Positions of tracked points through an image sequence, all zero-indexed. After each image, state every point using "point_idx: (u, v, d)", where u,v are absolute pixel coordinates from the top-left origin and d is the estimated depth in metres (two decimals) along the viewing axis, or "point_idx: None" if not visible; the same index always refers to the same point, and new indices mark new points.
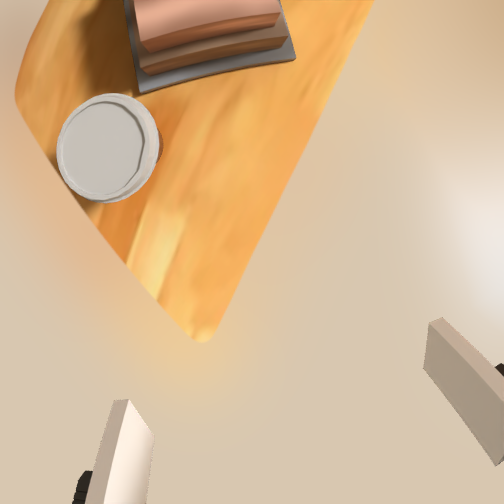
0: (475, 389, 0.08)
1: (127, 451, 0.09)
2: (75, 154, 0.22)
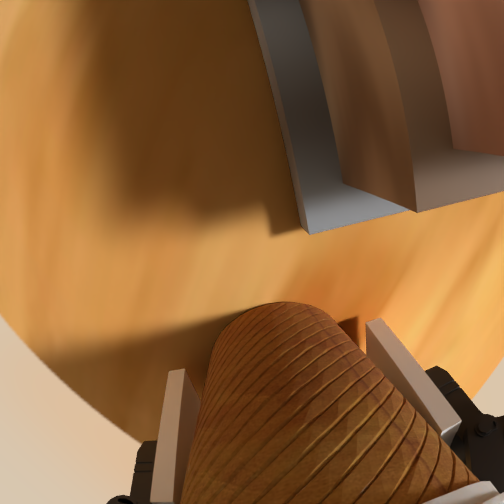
0: (403, 390, 0.09)
1: (187, 417, 0.11)
2: None
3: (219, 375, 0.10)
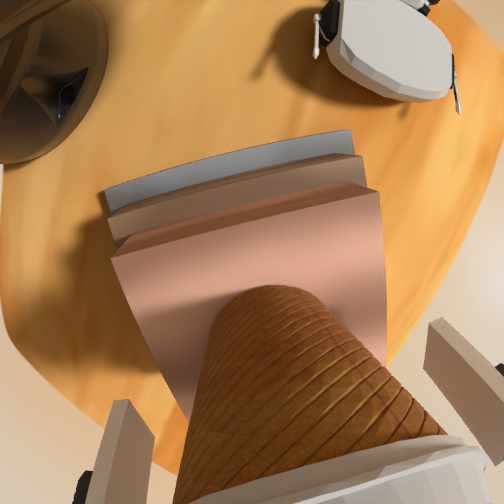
0: (475, 389, 0.08)
1: (127, 451, 0.09)
2: None
3: (215, 349, 0.11)
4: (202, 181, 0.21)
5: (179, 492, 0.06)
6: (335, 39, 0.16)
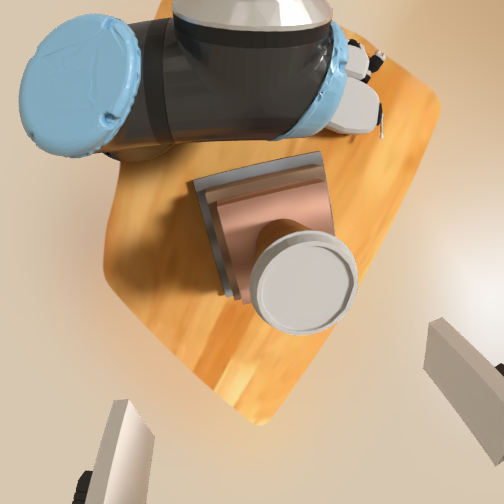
0: (475, 389, 0.08)
1: (127, 451, 0.09)
2: (278, 295, 0.25)
3: (263, 235, 0.32)
4: (246, 177, 0.42)
5: None
6: None
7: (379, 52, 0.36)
